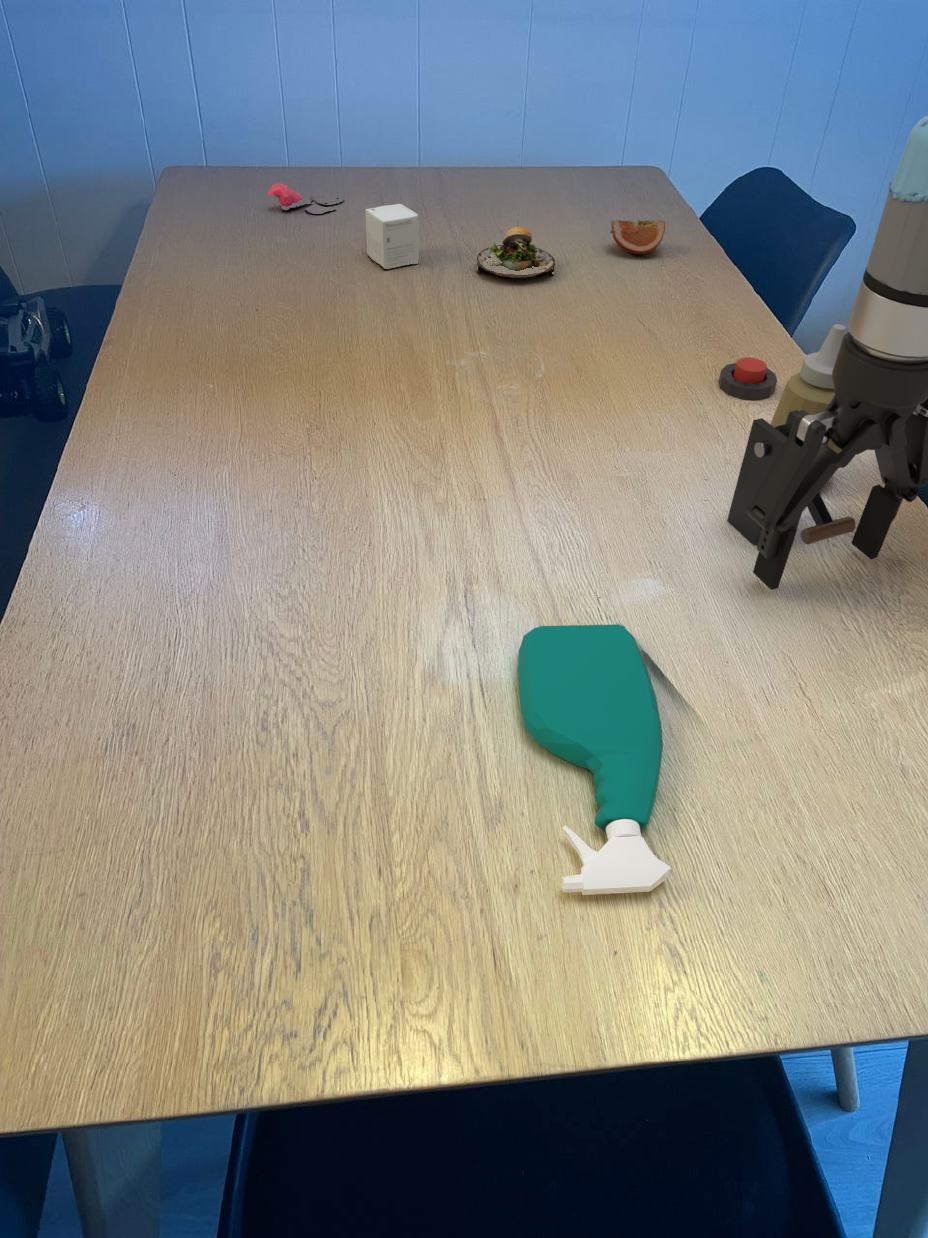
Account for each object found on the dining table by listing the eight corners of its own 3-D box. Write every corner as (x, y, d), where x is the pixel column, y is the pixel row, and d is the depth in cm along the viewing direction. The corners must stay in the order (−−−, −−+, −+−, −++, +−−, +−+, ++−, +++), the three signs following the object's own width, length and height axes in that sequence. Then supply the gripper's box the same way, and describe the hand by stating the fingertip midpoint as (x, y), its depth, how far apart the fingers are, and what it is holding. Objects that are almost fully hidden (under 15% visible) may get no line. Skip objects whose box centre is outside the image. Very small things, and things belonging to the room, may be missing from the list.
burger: (463, 277, 139) (465, 226, 134) (492, 250, 147) (494, 200, 142) (539, 292, 136) (544, 240, 131) (565, 263, 144) (569, 213, 139)
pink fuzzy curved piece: (312, 222, 154) (310, 194, 151) (260, 208, 158) (256, 181, 155) (355, 201, 162) (353, 174, 159) (303, 189, 166) (301, 162, 163)
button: (769, 381, 112) (773, 368, 110) (745, 387, 110) (748, 373, 109) (751, 368, 114) (754, 355, 113) (727, 373, 113) (730, 360, 112)
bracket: (815, 556, 91) (854, 443, 82) (756, 573, 89) (791, 459, 80) (758, 506, 97) (790, 396, 88) (702, 521, 95) (729, 409, 86)
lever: (845, 536, 85) (861, 525, 83) (801, 549, 84) (816, 538, 81) (793, 431, 88) (808, 418, 86) (750, 442, 86) (763, 428, 84)
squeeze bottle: (816, 465, 103) (866, 308, 91) (839, 508, 97) (897, 346, 85) (743, 465, 103) (785, 308, 91) (763, 508, 97) (810, 346, 85)
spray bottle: (635, 645, 81) (700, 900, 63) (511, 647, 81) (540, 905, 63) (641, 620, 79) (708, 877, 61) (513, 622, 79) (544, 881, 61)
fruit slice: (609, 258, 145) (613, 226, 142) (605, 242, 150) (609, 210, 147) (663, 260, 145) (668, 228, 142) (657, 244, 150) (662, 212, 147)
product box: (383, 271, 140) (382, 221, 135) (366, 257, 144) (364, 208, 139) (420, 264, 142) (419, 214, 137) (401, 250, 146) (400, 201, 141)
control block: (800, 417, 111) (807, 394, 109) (752, 428, 109) (758, 405, 107) (750, 380, 117) (756, 358, 115) (704, 390, 115) (709, 368, 113)
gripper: (970, 298, 77) (884, 514, 92) (741, 345, 70) (687, 571, 85) (1045, 337, 72) (940, 558, 87) (805, 391, 65) (736, 623, 80)
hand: (815, 565), depth 86 cm, fingers open, 11 cm apart
